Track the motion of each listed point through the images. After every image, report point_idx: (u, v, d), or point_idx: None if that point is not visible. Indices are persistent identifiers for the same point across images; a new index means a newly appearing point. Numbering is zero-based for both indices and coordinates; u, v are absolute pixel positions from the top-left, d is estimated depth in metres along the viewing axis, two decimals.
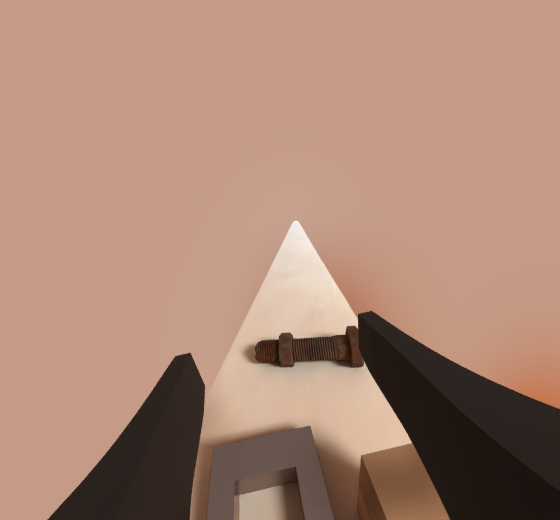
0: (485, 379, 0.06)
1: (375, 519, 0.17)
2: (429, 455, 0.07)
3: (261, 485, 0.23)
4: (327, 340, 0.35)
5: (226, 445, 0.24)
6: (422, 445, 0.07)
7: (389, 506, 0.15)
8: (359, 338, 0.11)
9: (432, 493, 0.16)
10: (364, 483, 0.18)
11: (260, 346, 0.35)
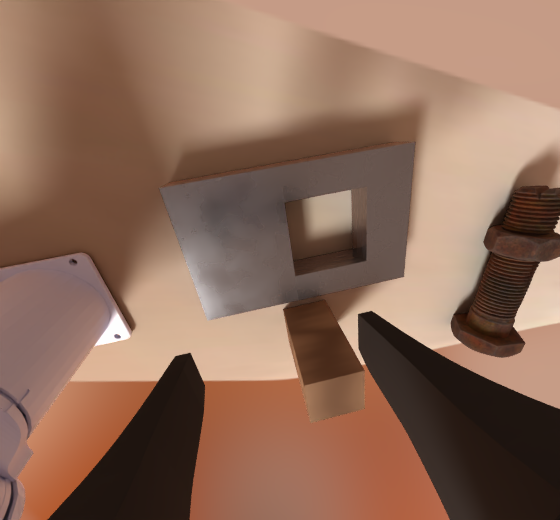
0: (485, 379, 0.06)
1: (314, 346, 0.18)
2: (429, 455, 0.07)
3: (355, 212, 0.19)
4: (511, 310, 0.22)
5: (411, 164, 0.16)
6: (422, 445, 0.07)
7: (321, 386, 0.16)
8: (359, 338, 0.11)
9: (325, 414, 0.17)
10: (340, 348, 0.17)
11: (554, 201, 0.18)
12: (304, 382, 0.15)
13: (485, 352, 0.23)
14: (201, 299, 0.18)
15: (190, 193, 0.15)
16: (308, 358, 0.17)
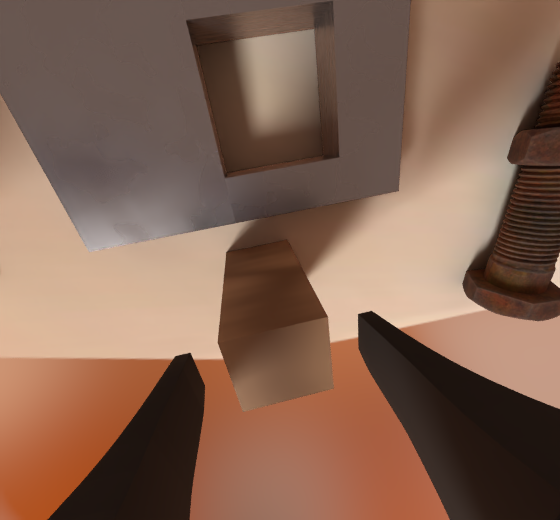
0: (485, 379, 0.06)
1: (254, 289, 0.11)
2: (429, 455, 0.07)
3: (322, 81, 0.12)
4: (552, 251, 0.15)
5: None
6: (422, 445, 0.07)
7: (250, 345, 0.09)
8: (359, 338, 0.11)
9: (266, 396, 0.10)
10: (294, 289, 0.11)
11: None
12: (220, 337, 0.09)
13: (514, 315, 0.16)
14: (69, 212, 0.11)
15: None
16: (239, 305, 0.10)
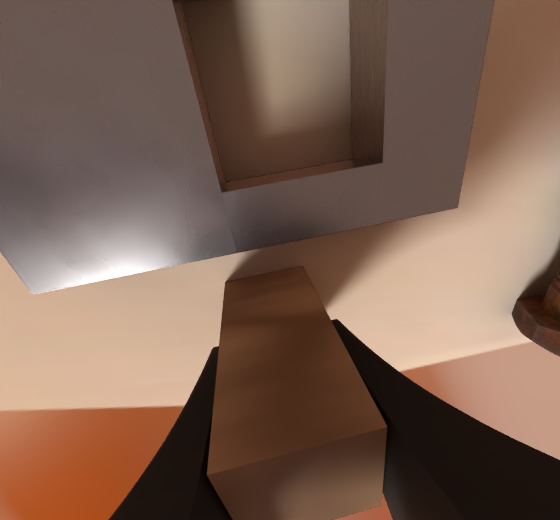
0: (428, 394, 0.06)
1: (264, 353, 0.08)
2: None
3: (358, 56, 0.08)
4: None
5: None
6: None
7: (260, 472, 0.05)
8: None
9: None
10: (323, 357, 0.07)
11: None
12: (211, 462, 0.05)
13: None
14: None
15: None
16: (242, 385, 0.07)
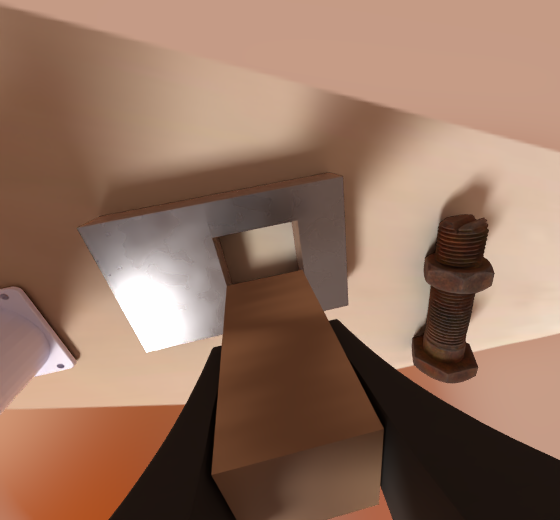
0: (428, 394, 0.06)
1: (265, 357, 0.08)
2: None
3: (295, 241, 0.18)
4: (458, 337, 0.22)
5: (341, 198, 0.16)
6: None
7: (263, 472, 0.06)
8: None
9: None
10: (322, 361, 0.08)
11: (472, 236, 0.18)
12: (215, 462, 0.06)
13: (439, 379, 0.23)
14: (137, 332, 0.18)
15: (111, 232, 0.14)
16: (244, 388, 0.07)
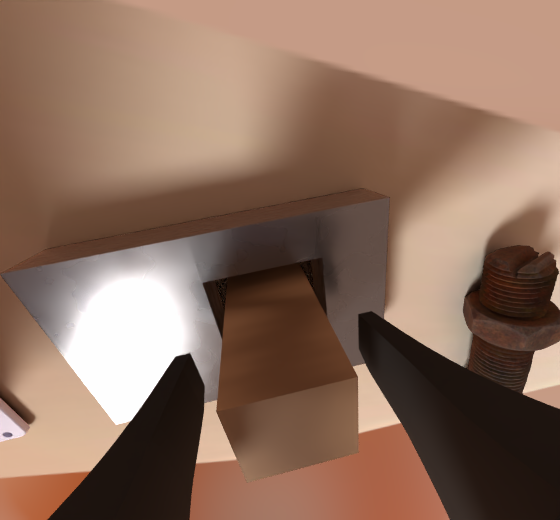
0: (485, 379, 0.06)
1: (262, 328, 0.09)
2: (429, 455, 0.07)
3: (315, 278, 0.14)
4: None
5: (385, 227, 0.11)
6: (422, 445, 0.07)
7: (258, 412, 0.07)
8: (359, 338, 0.11)
9: (277, 465, 0.08)
10: (311, 330, 0.09)
11: (537, 280, 0.13)
12: (219, 403, 0.07)
13: None
14: (101, 402, 0.13)
15: (53, 279, 0.10)
16: (243, 351, 0.08)
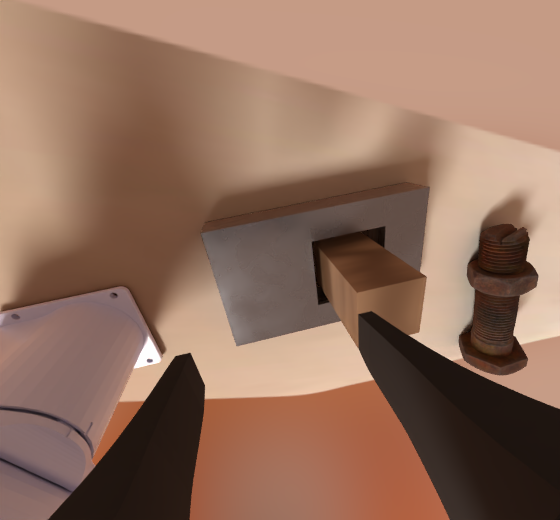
0: (485, 379, 0.06)
1: (359, 263, 0.16)
2: (429, 455, 0.07)
3: None
4: (506, 333, 0.24)
5: (425, 206, 0.18)
6: (422, 445, 0.07)
7: (375, 295, 0.13)
8: (359, 338, 0.11)
9: None
10: (390, 262, 0.15)
11: (515, 246, 0.20)
12: (356, 290, 0.13)
13: (491, 372, 0.25)
14: (232, 327, 0.19)
15: (228, 237, 0.16)
16: (354, 272, 0.15)
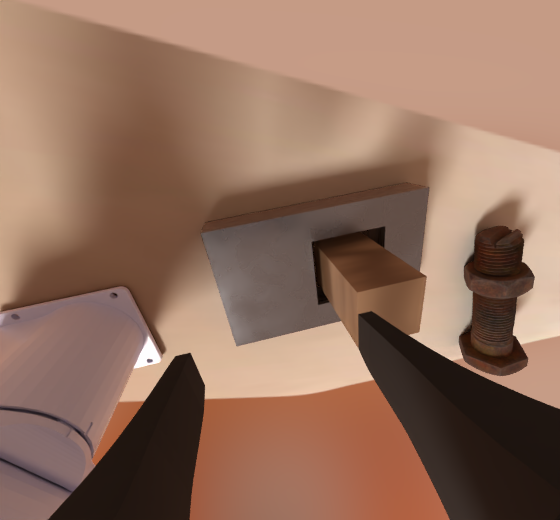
0: (485, 379, 0.06)
1: (359, 263, 0.16)
2: (429, 455, 0.07)
3: None
4: (505, 334, 0.24)
5: (425, 206, 0.18)
6: (422, 445, 0.07)
7: (375, 295, 0.13)
8: (359, 338, 0.11)
9: None
10: (390, 262, 0.15)
11: (509, 248, 0.20)
12: (356, 290, 0.13)
13: (492, 373, 0.25)
14: (232, 328, 0.19)
15: (228, 237, 0.16)
16: (355, 272, 0.15)
